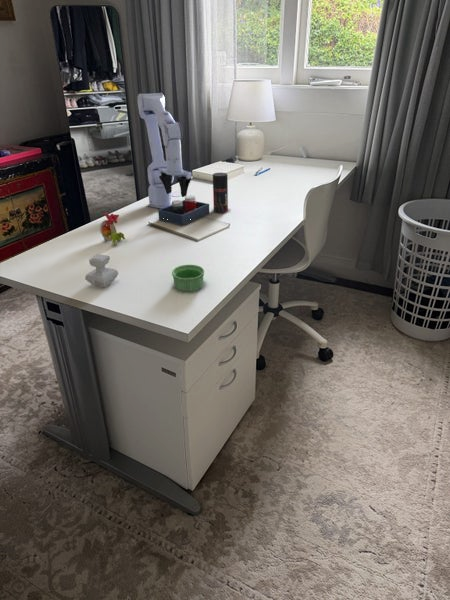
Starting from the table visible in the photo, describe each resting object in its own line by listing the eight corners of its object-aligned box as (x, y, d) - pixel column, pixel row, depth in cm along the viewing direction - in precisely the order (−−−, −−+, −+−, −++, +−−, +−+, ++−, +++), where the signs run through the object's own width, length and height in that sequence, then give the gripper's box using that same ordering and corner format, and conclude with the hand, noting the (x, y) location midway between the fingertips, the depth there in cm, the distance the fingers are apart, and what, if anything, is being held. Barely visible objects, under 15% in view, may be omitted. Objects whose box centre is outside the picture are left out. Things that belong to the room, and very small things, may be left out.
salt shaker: (183, 213, 173) (181, 197, 169) (190, 210, 176) (189, 194, 173) (191, 215, 170) (190, 199, 167) (198, 212, 174) (198, 196, 170)
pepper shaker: (170, 218, 167) (168, 202, 164) (177, 215, 170) (176, 199, 167) (178, 220, 165) (177, 204, 162) (186, 217, 168) (185, 201, 165)
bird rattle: (101, 249, 148) (118, 244, 142) (87, 220, 144) (103, 213, 139) (113, 243, 152) (130, 238, 147) (100, 214, 149) (116, 207, 144)
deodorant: (226, 213, 174) (225, 176, 166) (212, 212, 175) (211, 175, 167) (229, 208, 179) (228, 172, 171) (215, 208, 180) (214, 172, 172)
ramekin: (167, 289, 117) (166, 275, 115) (181, 276, 124) (180, 262, 122) (196, 295, 114) (196, 280, 112) (209, 280, 122) (209, 267, 119)
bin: (159, 219, 168) (158, 210, 166) (186, 208, 180) (186, 199, 178) (182, 225, 162) (181, 215, 160) (209, 213, 174) (209, 203, 172)
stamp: (103, 275, 126) (98, 249, 121) (122, 279, 123) (118, 252, 119) (83, 289, 118) (78, 261, 114) (103, 293, 116) (98, 265, 112)
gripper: (152, 158, 157) (155, 194, 164) (181, 162, 150) (184, 200, 156) (164, 154, 162) (167, 190, 169) (194, 159, 155) (196, 195, 161)
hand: (176, 194), depth 163 cm, fingers open, 7 cm apart
